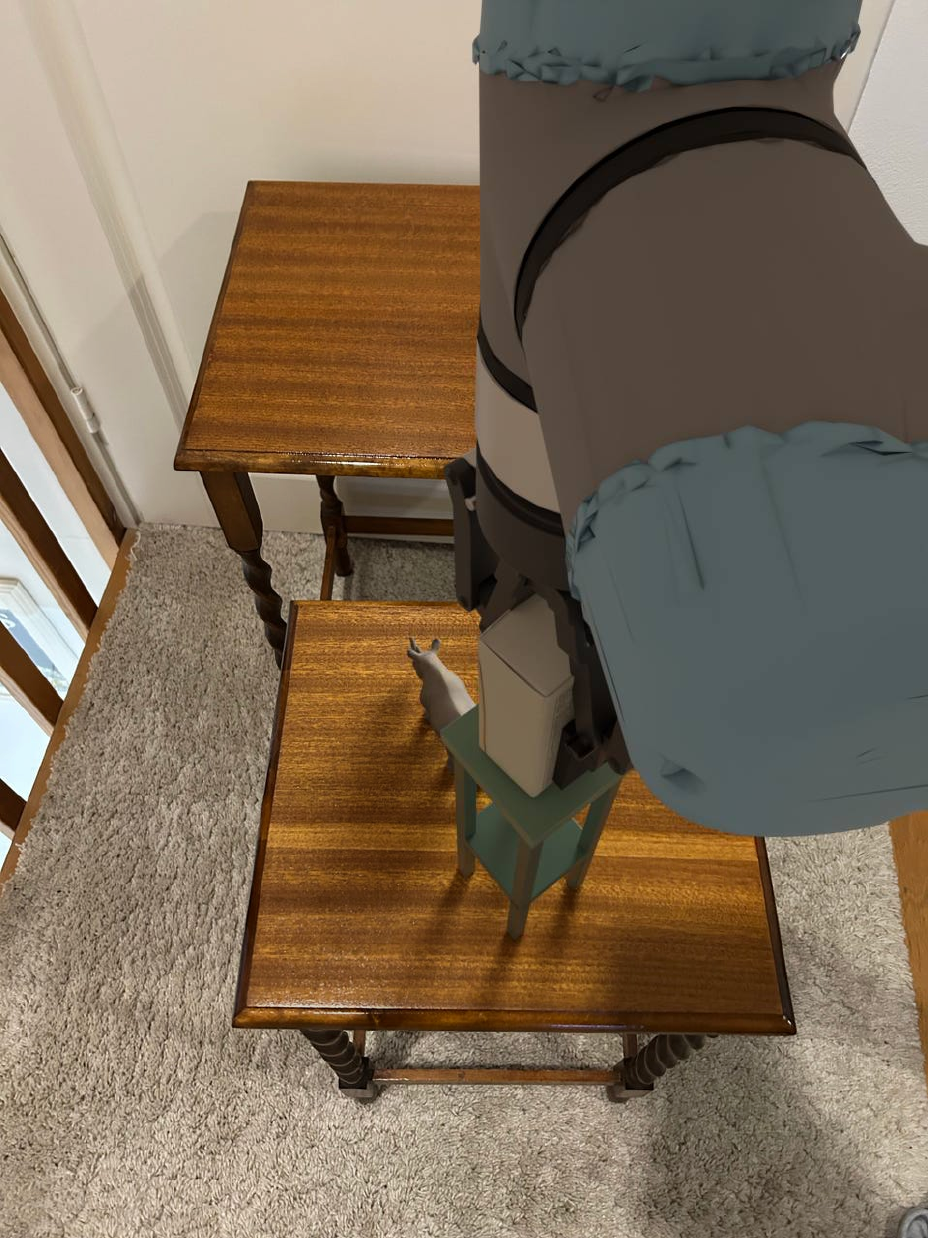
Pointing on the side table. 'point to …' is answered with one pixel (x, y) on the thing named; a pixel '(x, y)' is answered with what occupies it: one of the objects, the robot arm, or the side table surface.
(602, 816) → the stand
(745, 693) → the robot arm
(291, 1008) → the side table surface
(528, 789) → the cosmetic box
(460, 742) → the green square board
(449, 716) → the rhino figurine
